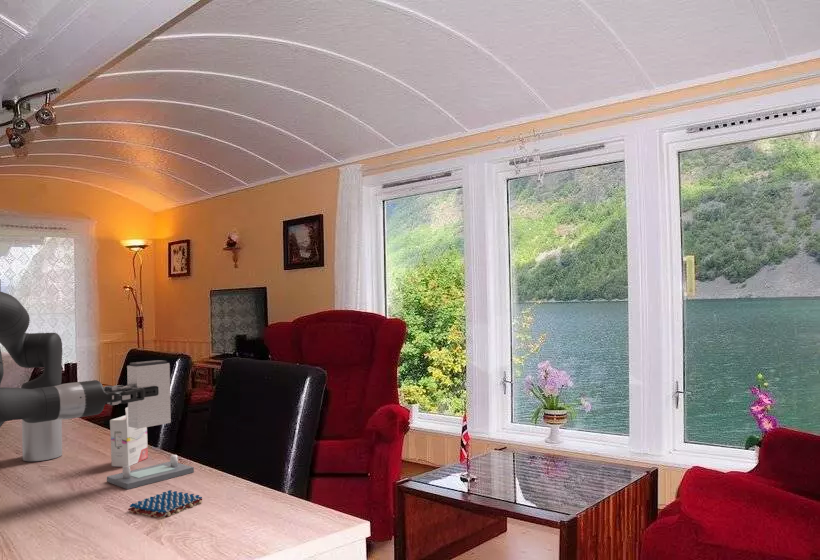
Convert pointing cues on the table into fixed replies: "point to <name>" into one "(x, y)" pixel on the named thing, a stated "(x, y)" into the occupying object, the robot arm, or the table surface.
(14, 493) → the table surface
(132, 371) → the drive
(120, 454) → the ink cartridge box
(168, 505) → the woven mat
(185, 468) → the pin tray
